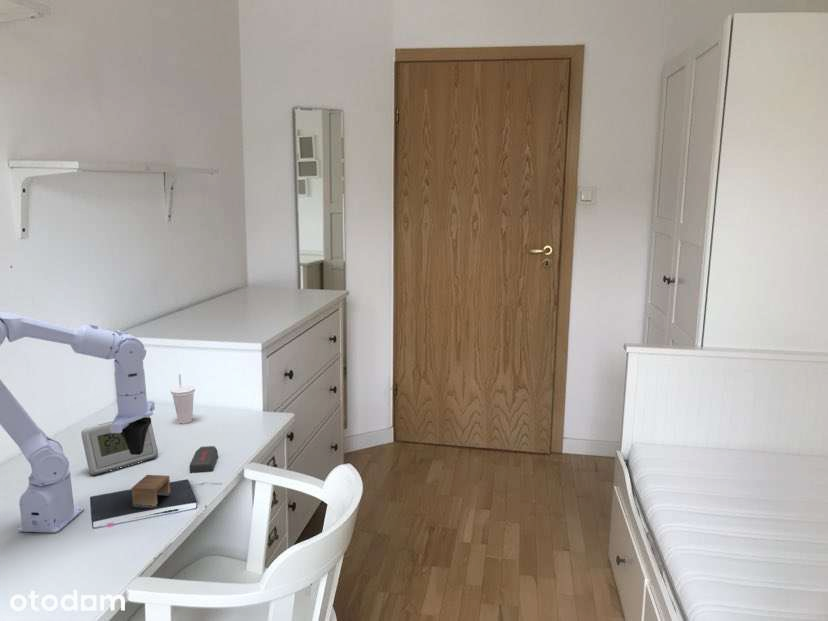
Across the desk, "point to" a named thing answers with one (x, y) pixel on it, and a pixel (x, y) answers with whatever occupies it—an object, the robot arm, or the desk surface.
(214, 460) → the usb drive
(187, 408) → the smoothie
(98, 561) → the desk surface
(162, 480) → the open wooden box
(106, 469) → the digital clock
